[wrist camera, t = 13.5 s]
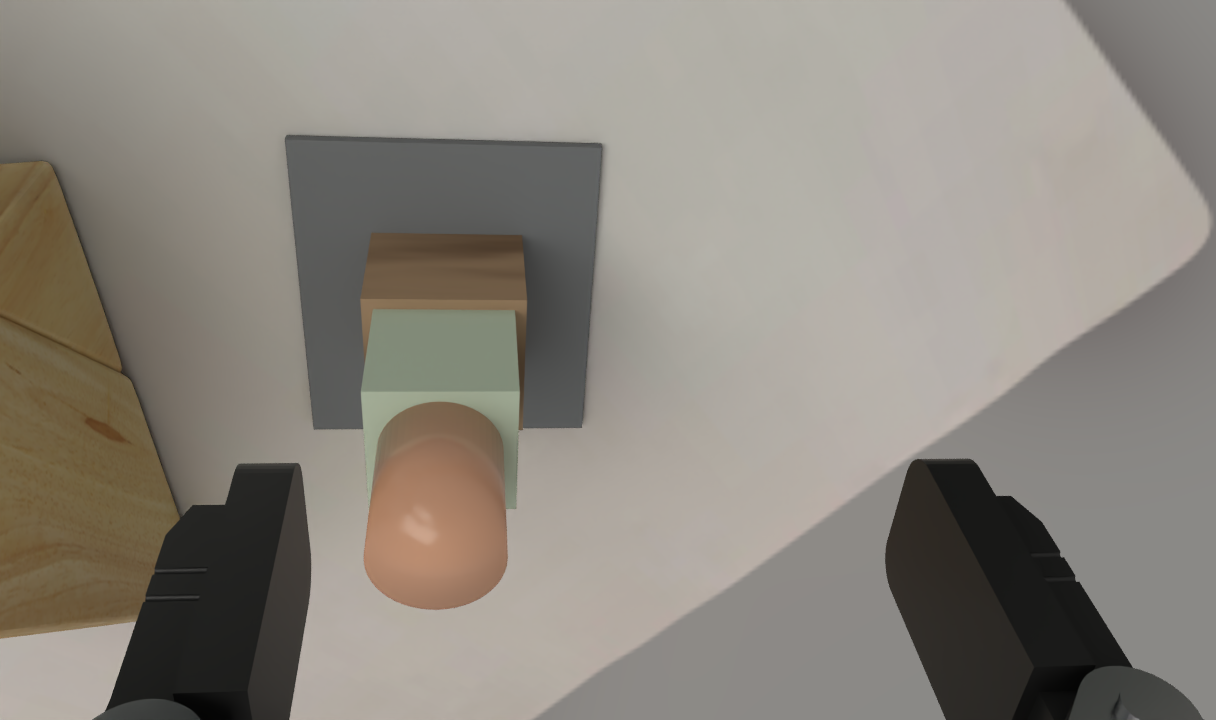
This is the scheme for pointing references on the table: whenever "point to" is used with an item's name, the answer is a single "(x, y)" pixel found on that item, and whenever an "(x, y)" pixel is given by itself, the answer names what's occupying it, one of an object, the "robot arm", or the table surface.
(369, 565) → the tan rounded cylinder
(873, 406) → the table surface
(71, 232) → the knife block
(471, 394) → the top block
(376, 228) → the mat
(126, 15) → the table surface
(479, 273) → the bottom block
